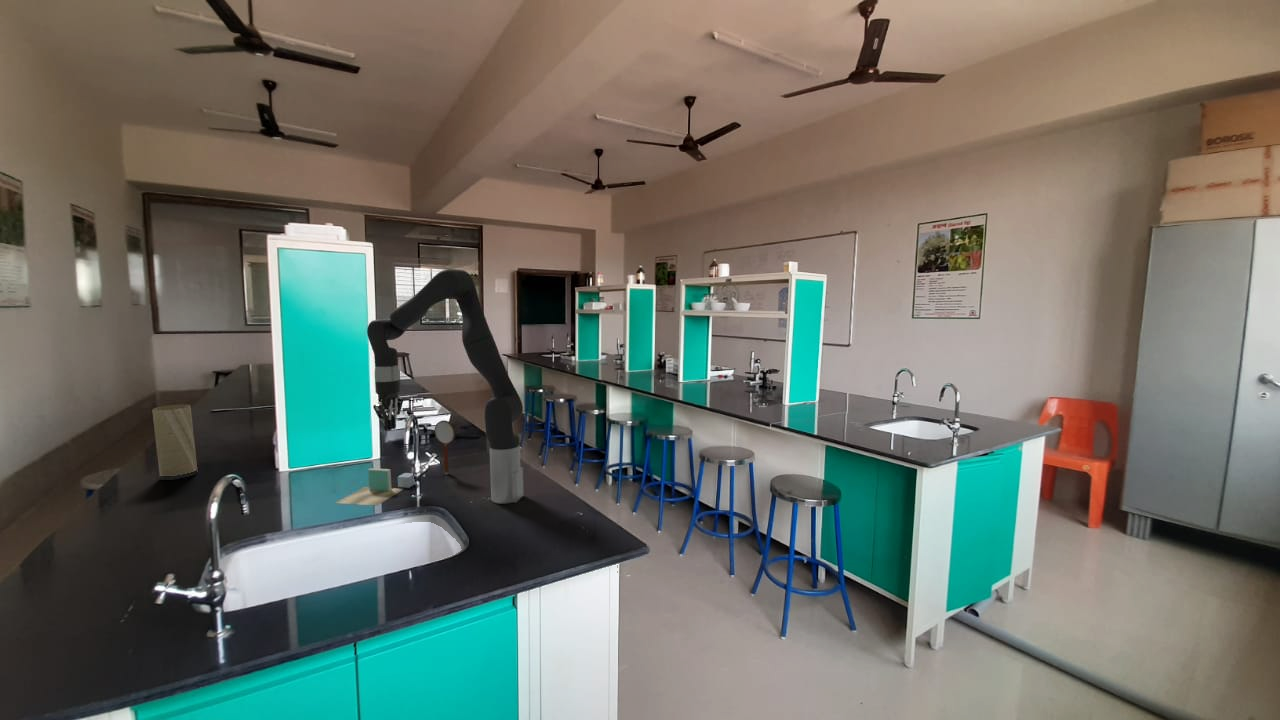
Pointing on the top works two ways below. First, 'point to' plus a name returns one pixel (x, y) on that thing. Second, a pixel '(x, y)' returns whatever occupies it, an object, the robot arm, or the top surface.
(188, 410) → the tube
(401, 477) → the block
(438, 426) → the magnifying glass
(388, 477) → the tile
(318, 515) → the top surface
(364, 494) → the cork mat
